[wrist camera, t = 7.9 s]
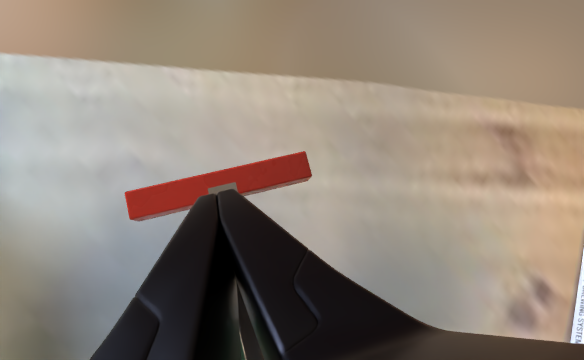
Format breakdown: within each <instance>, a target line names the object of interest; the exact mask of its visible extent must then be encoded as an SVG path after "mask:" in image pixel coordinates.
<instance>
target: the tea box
mask: <svg viewBox="0 0 584 360" xmlns="http://www.w3.org/2000/svg"><path fill="white" fill-rule="evenodd" d="M570 343H581V344H584V250H583V257H582V265H581V272H580V279H579V286H578V293H577V299H576V307H575V314H574V321H573V327H572V334H571V341H570Z"/></svg>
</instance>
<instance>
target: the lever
mask: <svg viewBox="0 0 584 360" xmlns="http://www.w3.org/2000/svg"><path fill="white" fill-rule="evenodd" d="M311 176H312V174H311V170H310V166H309V163H308V159H307V155H306V152H305V151H303V152H299V153H295V154H290V155H286V156H281V157H277V158H272V159H268V160H264V161H259V162H255V163H250V164H246V165H242V166H237V167H233V168H228V169H224V170H220V171H215V172H211V173H206V174H202V175H198V176H193V177H189V178H184V179H180V180H175V181H171V182H167V183H162V184H158V185H153V186H149V187H145V188H140V189H136V190H131V191H127V192H125V198H126V203H127V208H128V213H129V218H130V220H135V221H143V220H147V219H151V218H156V217H160V216H164V215H168V214H172V213H176V212H181V211H185V210H189V209H191V208H192V206H193V205H194V203H195V202H196V200H197V199H198V197H200V196H203V195H207V194H211V193H215V194H216V195H217V193H218V192H220V191H224V190H228V189H235V190H236V191H237V192H239V193H240V194H241V195H242V196H247V195H251V194H256V193H260V192H264V191H268V190H272V189H276V188H280V187H285V186H289V185H293V184H297V183H301V182H305V181H308V180H309V179H310V178H311ZM235 277H236V275H235ZM236 285H237V298H238V314H239V330H240V340H241V345H242V349H243V353H244V358H245V360H265V359H264V357H263V354H262V351H261V348H260V345H259V342H258V340H257V337H256V334H255V331H254V328H253V325H252V323H251V320H250V317H249V314H248V311H247V308H246V306H245V303H244V300H243V297H242V294H241V292H240V289H239V285H238V282H237V279H236Z"/></svg>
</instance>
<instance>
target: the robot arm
mask: <svg viewBox="0 0 584 360" xmlns="http://www.w3.org/2000/svg"><path fill="white" fill-rule="evenodd" d="M235 275H236V277H235ZM236 279H237V282H238V285H239V289H240V292H241V294H242V297H243V300H244V303H245V306H246V308H247V311H248V314H249V317H250V320H251V323H252V325H253V328H254V331H255V334H256V337H257V340H258V342H259V345H260V348H261V351H262V354H263V357H264V359H265V360H584V344H581V343H565V342H555V341H544V340H534V339H524V338H514V337H503V336H493V335H483V334H473V333H462V332H453V331H446V330H442V329H438V328H435V327H432V326H430V325H427V324H425V323H423V322H421V321H418V320H417V319H415V318H413V317H411V316H409V315H408V314H406V313H404V312H403V311H401V310H399V309H398V308H396V307H394V306H393V305H391V304H390V303H388V302H386V301H385V300H383V299H381V298H380V297H378V296H376V295H375V294H373V293H371V292H370V291H368V290H366V289H365V288H363V287H362V286H360V285H358V284H357V283H355V282H354V281H352V280H350V279H349V278H347V277H346V276H344V275H343V274H341V273H340V272H338V271H337V270H335V269H334V268H332V267H331V266H330V265H328V264H327V263H326V262H324V261H323V260H322V259H320V258H319V257H318V256H317V255H316V254H314V253H313V252H312V251H311V250H308V248H307V247H305V246H304V245H303V244H302V243H301V242H299V241H298V240H297V239H296V238H294V237H293V236H292V235H291V234H289V233H288V232H287V231H286V230H284V229H283V228H282V227H281V226H279V225H278V224H277V223H276V222H275V221H273V220H272V219H271V218H270V217H268V216H267V215H266V214H265V213H263V212H262V211H261V210H260V209H258V208H257V207H256V206H255V205H253V204H252V203H251V202H250V201H248V200H247V199H246V198H245V197H244V196H242V195H241V194H240V193H239V192H237V191H236V190H235V189H228V190H224V191H220V192H218V193H217V195H216V194H215V193H211V194H207V195H203V196H200V197H198V199H197V200H196V202H195V203H194V205H193V206H192V208H191V209H190V211H189V212H188V214H187V216H186V217H185V219H184V220H183V222H182V223H181V225H180V226H179V228H178V229H177V231H176V233H175V234H174V236H173V237H172V239H171V240H170V242H169V243H168V245H167V247H166V248H165V250H164V251H163V253H162V254H161V256H160V257H159V259H158V260H157V262H156V264H155V265H154V267H153V268H152V270H151V271H150V273H149V274H148V276H147V277H146V279H145V281H144V282H143V284H142V285H141V287H140V288H139V290H138V291H137V293H136V295H135V297H134V298H133V299H132V300H131V302H130V304H129V305H128V307H127V308H126V310H125V311H124V313H123V314H122V316H121V317H120V319H119V320H118V321H117V323H116V324H115V326H114V327H113V329H112V330H111V332H110V333H109V335H108V336H107V337H106V339H105V340H104V341H103V343H102V344H101V345H100V347H99V348H98V349H97V350H96V352H95V353H94V354H93V356H92V357H91V358H90V360H241V346H240V330H239V314H238V298H237V285H236Z"/></svg>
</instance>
